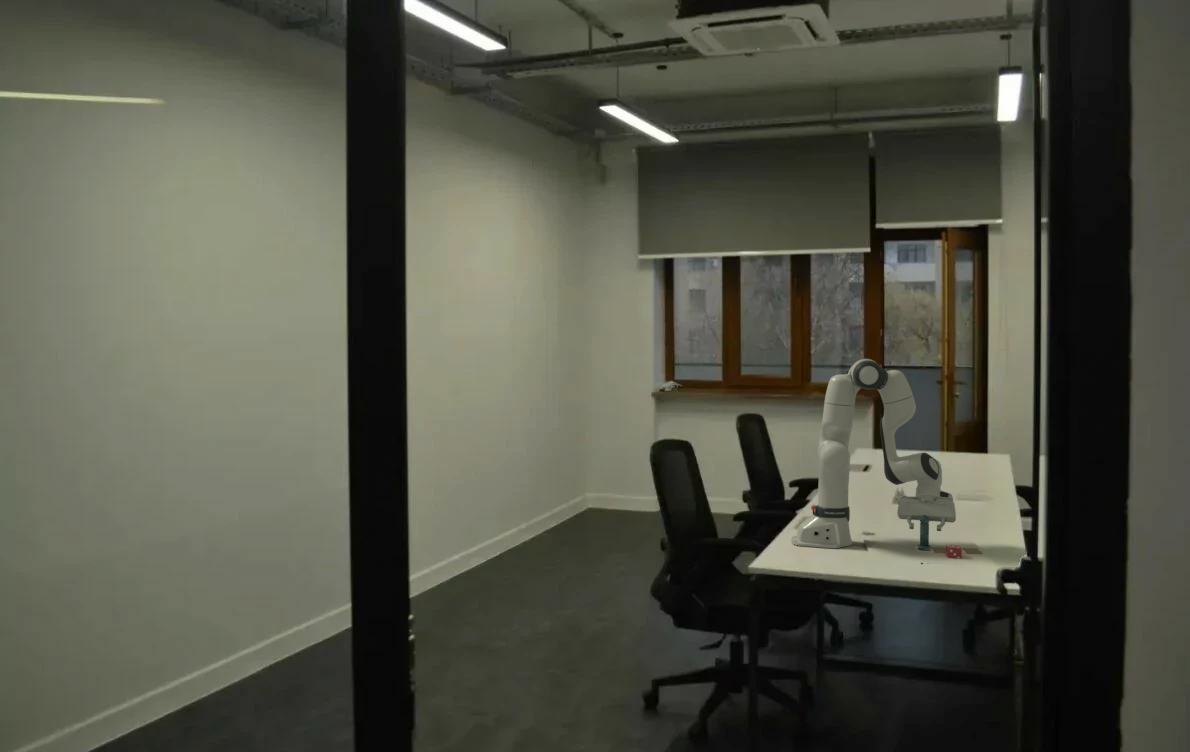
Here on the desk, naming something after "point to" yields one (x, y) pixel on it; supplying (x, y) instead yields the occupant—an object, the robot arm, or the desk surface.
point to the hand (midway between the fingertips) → (925, 529)
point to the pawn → (924, 534)
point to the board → (943, 550)
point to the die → (953, 551)
